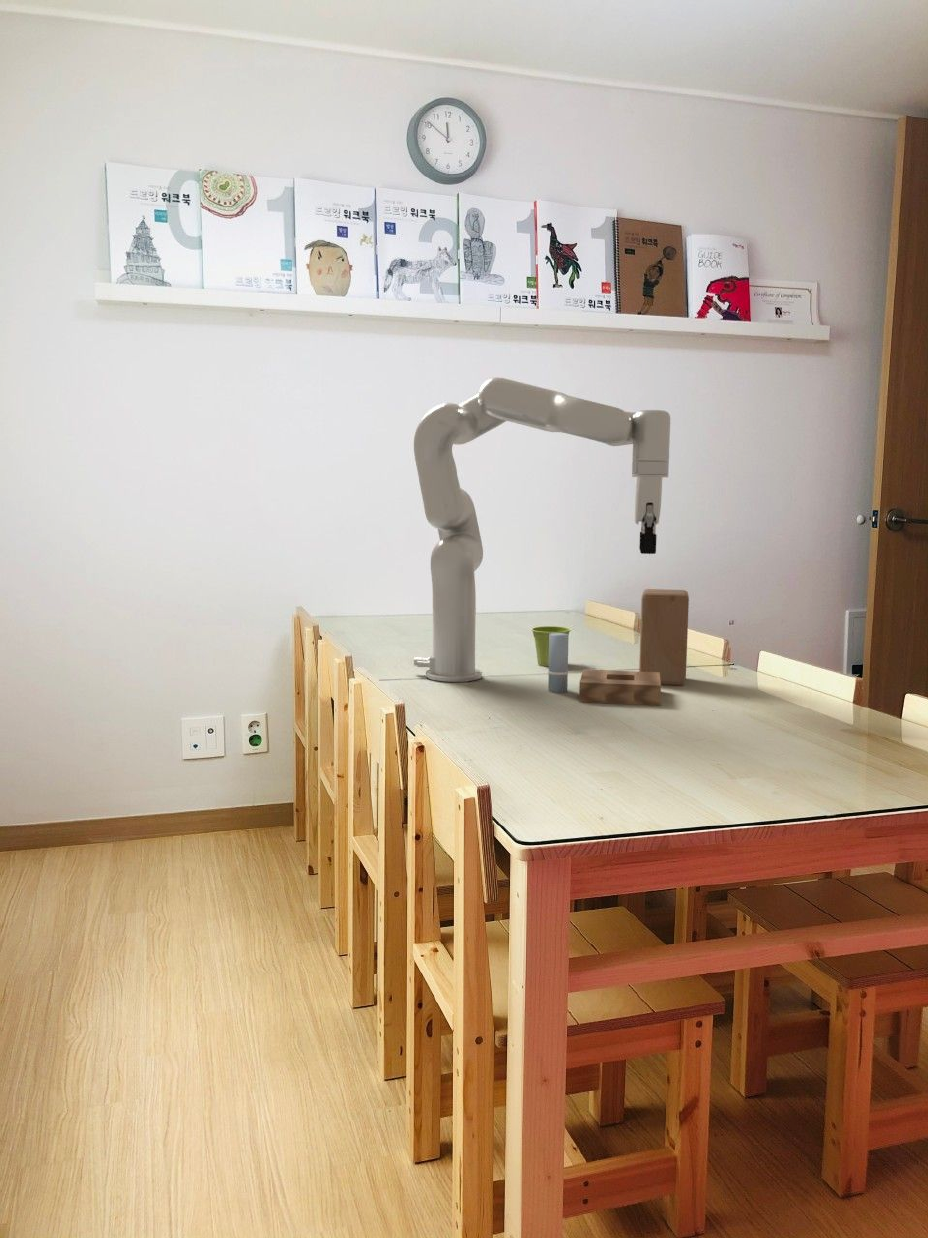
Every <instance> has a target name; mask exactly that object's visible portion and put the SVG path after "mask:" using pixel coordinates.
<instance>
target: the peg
mask: <svg viewBox="0 0 928 1238" xmlns="http://www.w3.org/2000/svg"><path fill="white" fill-rule="evenodd" d="M569 635H570V634H569ZM569 635H568V634H565V633H551V634H549V666H548V670H547V674H548V679H547V680H548V682H547V683H548V685H547V686H548V688H547V690H548V692H550V693H555V694H562V693H567V692H568V679H569V678H568V676H569V675H568V674H569V637H570V636H569Z"/></svg>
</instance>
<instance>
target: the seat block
mask: <svg viewBox="0 0 928 1238" xmlns="http://www.w3.org/2000/svg"><path fill="white" fill-rule="evenodd" d="M580 675H581V676H580V679H579V688H578V689H579V691H578V692H579V695H578V702H579V703H593V704H595V703H596V704H622V705H640V706H642V705H643V706H661V704H662V703H661V699H662V698H661V697H662V696H661V695H662V685H661V680H660V673H659V672H639V671H636V670H633V671H631V670H610V669H609V670H608V669H606V670H604V669H603V670H602V669H582V673H581V674H580Z"/></svg>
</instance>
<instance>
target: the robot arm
mask: <svg viewBox="0 0 928 1238" xmlns="http://www.w3.org/2000/svg"><path fill="white" fill-rule="evenodd" d="M505 422H511V423H514V424H518V425H522V426H526V427H529V428H534V429H537V430H541V431H544V432H548V433H561V434H562V433H563V434H568V435H571V436H575V437H580V438H583V439H588V440H590V441H591V440H592V441H596V442H598V443H602V444H606V445H608V446H612V447H621V446H622V447H623V446H627V445H632V460H631V461H632V465H631V467H632V468H631V477H632V478H636V484H635V500H634V501H635V503H634V504H635V505H634V506H635V508H634V523H635V524H636V525H639V522H641V524H640V526H641V527H640V531H639V548H638V549H639V553H640V554H641V555H642V554H644V555H645V554H646V555H655V554H656V553H657V533H656V532H657V531H656V527H657V525H659V522H660V518H661V510H662V498H663V497H662V493H663V478H669V471H670V470H669V468H670V466H669V465H670V462H669V461H670V441H671V440H670V439H671V438H670V436H671V416H670V413H669V412H668V411H666V410H662V409H661V410H660V409H645V410H644V409H643V410H639V411H637V412H630V411H625V410H623V409H621V408H618V407H617V406H611V405H607V404H604V403H599V402H595V401H592V400H588V399H584V398H580V397H575V396H571V395H568V394H566V393H564V392H560V391H556V390H552V389H548V388H545V387H541V386H537V385H532V384H529V383H525V382H520V381H516V380H513V379H509V378H508V379H507V378H505V377H498V376H497V377H492V378H489V379H487V380H485V381H484V382H483V383H482V385H480V388H479V390H478V393H477V394H476V395H474V396H473V397H471V398H468V399H467V400H466V401H463V402H461V403H460V404H458V403H453V402H446V403H441V404H439V405H436V406H435V407H433V408H431V409H430V410H429V411H428V412H427V413H426V414H425V415H424V416H423V417H422V418H421V420H420V421H419V423H418V425H417V427H416V429H415V431H414V433H415V434H414V438H413V453H414V454H413V455H414V461H415V464H416V470H417V476H418V482H419V486H420V488H419V489H420V492H421V497H422V504H423V508H424V513H425V518H426V520H427V521H428V523H429V524H430V526H432V527H433V528H434V529H437V531H438V532H437V533H438V538H439V541H438V542H437V543H436V544H435V546H434V547H433V549H432V552H431V554H430V555H431V556H430V573H431V582H432V583H431V584H432V585H431V586H432V655H431V656H428V657H427V658H424V657H414V659H413V665H414V667H417V668H427V670H426V671H425V678H427V679H429V680H433V681H438V682H446V683H447V682H449V683H450V682H451V683H460V682H470V681H471V682H473V681H476V680H480V679H482V677H483V671H481V670H480V669H478V668H476V621H477V620H476V618H477V617H476V609H477V608H476V603H477V602H476V599H477V598H476V597H477V596H476V580H475V571H477V570H478V569H479V567H480V566H481V564H482V562H483V559H484V548H483V542H482V537H481V533H480V532H481V531H480V528H479V527H480V526H479V522H478V517H477V512H476V508H475V504H474V502H473V499H472V498H471V496H470V495H469V493H468V492H467V491H465V490H464V489H463V488H461V485H460V481H459V477H458V471H457V465H456V462H455V458H454V454H453V445H458V446H459V445H464V444H467V443H469V442H470V443H471V442H472V441H474V440H476V439H477V438H480V436H483V435H485V434H487V433H488V432H490V431H492V430H493V429H495V428H497V427H499V426H501V425H503V424H504V423H505Z"/></svg>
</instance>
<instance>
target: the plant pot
mask: <svg viewBox="0 0 928 1238" xmlns="http://www.w3.org/2000/svg"><path fill="white" fill-rule="evenodd" d="M530 630H531V632H532V635H533V637H534V644H535V650H536V658H537V659H536V660H537V664H538V666H543V667H549V634H551V633H565V634H568V635H570V632H572V631H571V628H570V627H567V626H566V627H564V626H557V625H556V626H554V625H552V626H551V625H550V626H549V625H548V626H547V625H546V626H536V627H535V626H534V627H532V628H531V629H530Z"/></svg>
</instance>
